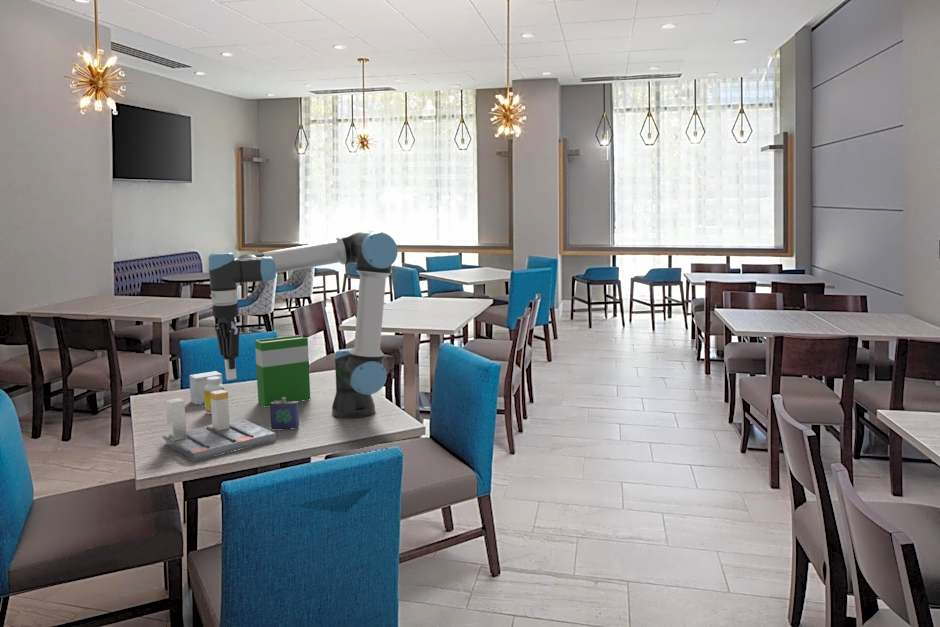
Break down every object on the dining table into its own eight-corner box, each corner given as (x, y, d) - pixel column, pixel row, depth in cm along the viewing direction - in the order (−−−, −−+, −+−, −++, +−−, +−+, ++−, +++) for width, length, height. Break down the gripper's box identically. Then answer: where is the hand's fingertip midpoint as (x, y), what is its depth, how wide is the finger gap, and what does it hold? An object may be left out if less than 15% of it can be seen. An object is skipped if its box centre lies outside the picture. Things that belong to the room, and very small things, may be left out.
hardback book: (303, 395, 285) (300, 334, 282) (310, 399, 279) (307, 337, 275) (258, 402, 275) (254, 340, 272) (264, 407, 269) (261, 343, 266)
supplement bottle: (219, 415, 259) (216, 380, 257) (202, 415, 260) (199, 379, 258) (229, 410, 265) (226, 376, 264) (212, 409, 267) (210, 375, 265)
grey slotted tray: (160, 444, 229) (157, 399, 227) (242, 425, 247) (240, 383, 245) (191, 462, 212) (187, 414, 210) (276, 441, 231) (274, 396, 228)
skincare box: (196, 405, 273) (194, 377, 272) (190, 401, 278) (188, 374, 276) (224, 400, 280) (222, 373, 278) (217, 396, 285) (215, 370, 283)
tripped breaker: (212, 428, 236) (209, 391, 234) (224, 425, 239) (222, 389, 237) (217, 430, 233) (215, 394, 231) (230, 428, 236) (227, 391, 234)
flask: (299, 426, 246) (298, 395, 244) (298, 429, 243) (296, 397, 241) (271, 427, 245) (269, 396, 243) (270, 430, 242) (268, 399, 240)
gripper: (203, 303, 226) (210, 377, 230) (222, 307, 216) (229, 384, 220) (227, 300, 231) (233, 373, 235) (246, 304, 222) (252, 379, 225)
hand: (231, 378), depth 228 cm, fingers closed
